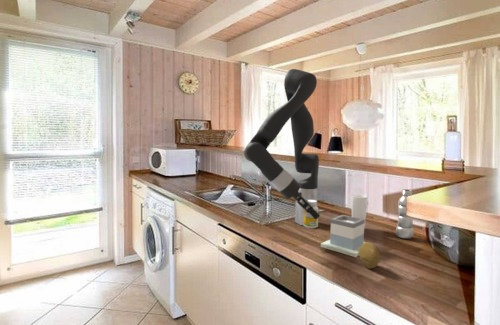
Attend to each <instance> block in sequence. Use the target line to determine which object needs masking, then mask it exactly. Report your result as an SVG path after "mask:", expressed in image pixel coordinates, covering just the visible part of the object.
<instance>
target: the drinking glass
mask: <svg viewBox="0 0 500 325" xmlns="http://www.w3.org/2000/svg"><path fill="white" fill-rule="evenodd" d="M350 200H351V203H350V204H351V206H350V208H351V217H356V218H361V219H365V221H364V228H365V227H366V218H367V217H366V216H367V210H368V196H367V195H363V194H352V195H351V198H350Z"/></svg>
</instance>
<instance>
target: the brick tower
mask: <svg viewBox="0 0 500 325" xmlns="http://www.w3.org/2000/svg"><path fill="white" fill-rule="evenodd" d="M364 221H365V222H366V218H365V219H361V218H356V217H352V215H350V216H349V215H346V214H341V215H338V216H336V217H333V218H330V232H329V233H330V234H329V238H330V239H328V240H325V241H324V242H321V243H320V248H323V249H328V250H330V251H334V252H336V253H337V252H338V253H341V254H344V255H347V256H351V257H353V258H357V257H359V250H360V247H361V246H362V245H363V244H364V243H365V242H366V241H365V239H364V236H365V227H364Z"/></svg>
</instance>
